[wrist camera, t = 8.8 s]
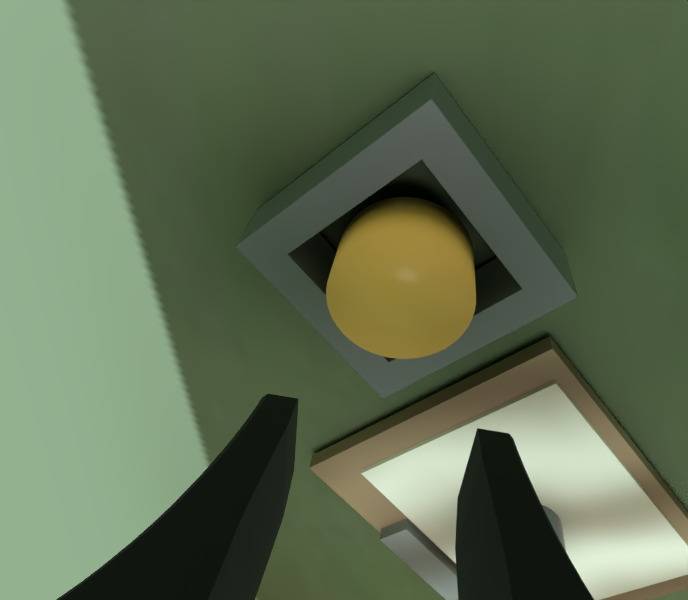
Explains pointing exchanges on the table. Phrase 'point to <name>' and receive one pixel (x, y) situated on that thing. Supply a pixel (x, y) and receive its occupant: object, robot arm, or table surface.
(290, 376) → the table surface
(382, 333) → the button
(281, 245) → the button base
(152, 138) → the table surface
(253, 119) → the table surface
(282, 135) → the table surface
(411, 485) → the clipboard
